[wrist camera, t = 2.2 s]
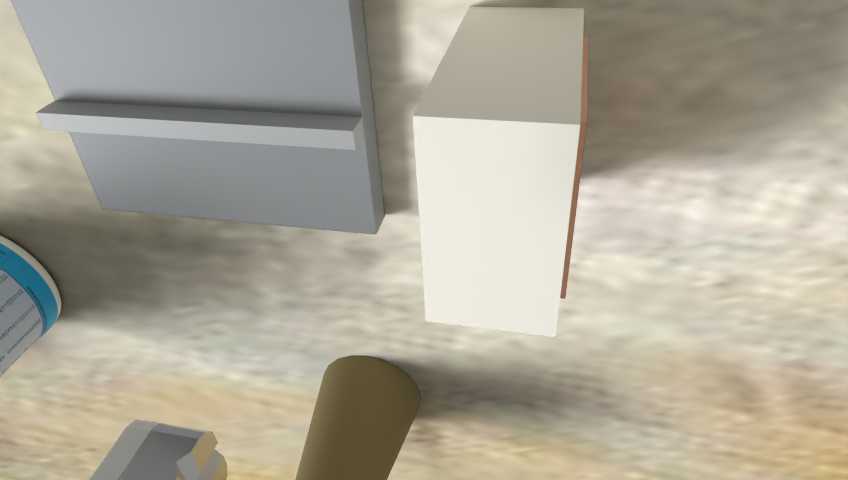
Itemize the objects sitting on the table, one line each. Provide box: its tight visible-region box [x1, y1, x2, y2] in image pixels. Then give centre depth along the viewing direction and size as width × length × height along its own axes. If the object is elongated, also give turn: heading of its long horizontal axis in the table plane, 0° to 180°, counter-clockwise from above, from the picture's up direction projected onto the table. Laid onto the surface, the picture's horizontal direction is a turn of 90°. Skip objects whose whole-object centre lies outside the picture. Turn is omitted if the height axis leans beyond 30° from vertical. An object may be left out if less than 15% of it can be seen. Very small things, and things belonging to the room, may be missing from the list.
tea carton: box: [413, 7, 588, 337], centre depth 20 cm, size 4×7×9 cm, turn 3°
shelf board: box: [11, 0, 385, 234], centre depth 25 cm, size 14×13×3 cm
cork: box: [296, 356, 421, 480], centre depth 32 cm, size 6×6×11 cm
